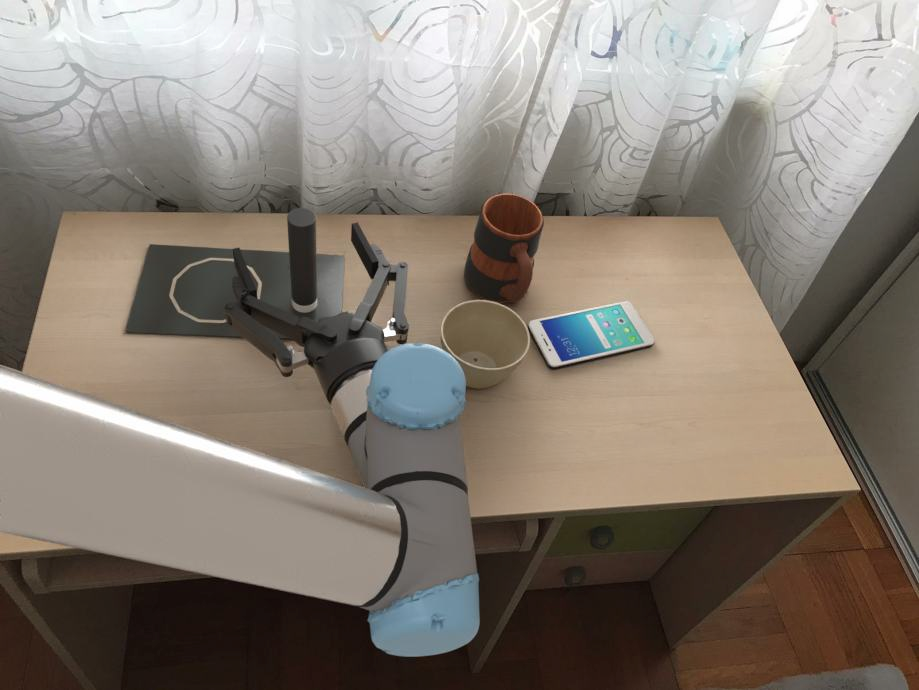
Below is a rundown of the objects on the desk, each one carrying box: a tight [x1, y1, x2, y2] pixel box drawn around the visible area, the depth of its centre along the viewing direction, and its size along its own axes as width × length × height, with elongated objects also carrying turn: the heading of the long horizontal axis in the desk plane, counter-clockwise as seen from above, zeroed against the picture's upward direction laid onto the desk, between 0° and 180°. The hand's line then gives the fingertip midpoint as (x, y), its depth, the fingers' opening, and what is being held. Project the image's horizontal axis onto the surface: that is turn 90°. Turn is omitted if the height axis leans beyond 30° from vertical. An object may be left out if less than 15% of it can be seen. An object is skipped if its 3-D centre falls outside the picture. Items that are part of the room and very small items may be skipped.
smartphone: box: [527, 300, 656, 370], centre depth 93 cm, size 7×1×15 cm
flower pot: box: [440, 299, 531, 390], centre depth 85 cm, size 10×10×7 cm
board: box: [124, 243, 346, 341], centre depth 90 cm, size 24×14×1 cm, turn 93°
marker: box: [286, 207, 317, 313], centre depth 85 cm, size 3×3×14 cm
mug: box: [463, 193, 545, 304], centre depth 92 cm, size 9×12×12 cm
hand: (297, 243), depth 84 cm, fingers open, 13 cm apart
